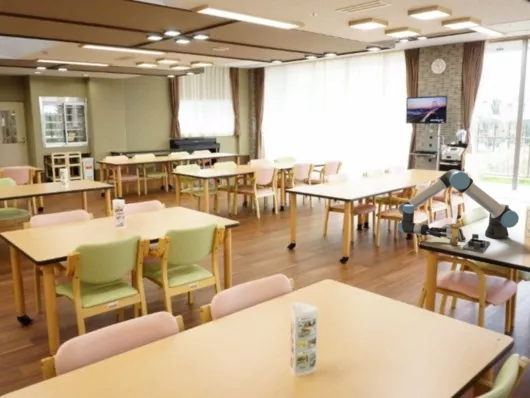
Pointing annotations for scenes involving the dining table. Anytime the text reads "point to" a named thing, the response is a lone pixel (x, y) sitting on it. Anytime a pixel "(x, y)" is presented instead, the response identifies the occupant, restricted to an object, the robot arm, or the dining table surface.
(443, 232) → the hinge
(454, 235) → the coupler
